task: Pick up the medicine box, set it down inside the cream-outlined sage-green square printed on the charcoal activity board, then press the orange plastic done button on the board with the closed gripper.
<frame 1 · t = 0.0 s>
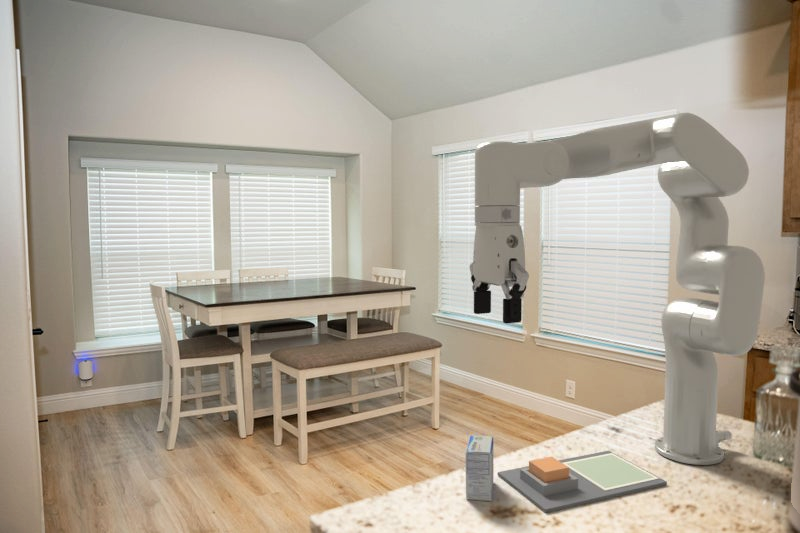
hand: (496, 317, 100), 31 cm above the kitchen counter, fingers open, 9 cm apart
medicine box: (479, 491, 104), on the kitchen counter
done button: (548, 470, 105), point 3 cm above the kitchen counter, slide at 0.0 cm
activity board: (580, 479, 108), on the kitchen counter
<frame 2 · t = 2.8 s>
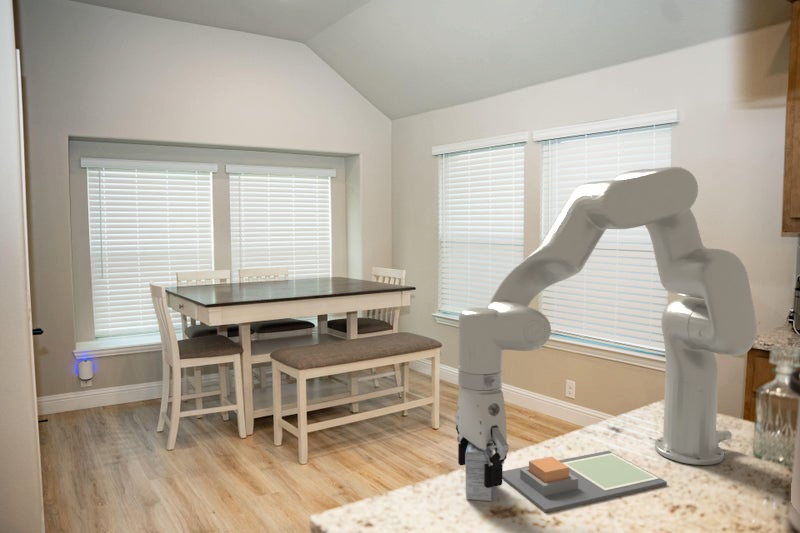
hand: (479, 474, 104), 3 cm above the kitchen counter, fingers closed on medicine box, 9 cm apart
medicine box: (479, 491, 104), on the kitchen counter, touching gripper
everything else where it was.
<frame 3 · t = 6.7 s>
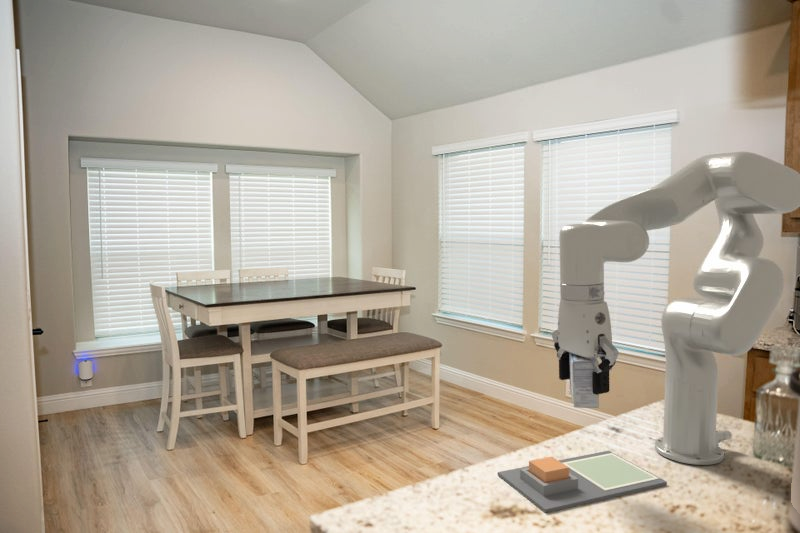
hand: (583, 385, 107), 17 cm above the kitchen counter, fingers closed on medicine box, 9 cm apart
medicine box: (583, 402, 108), point 14 cm above the kitchen counter, touching gripper
everything else where it was.
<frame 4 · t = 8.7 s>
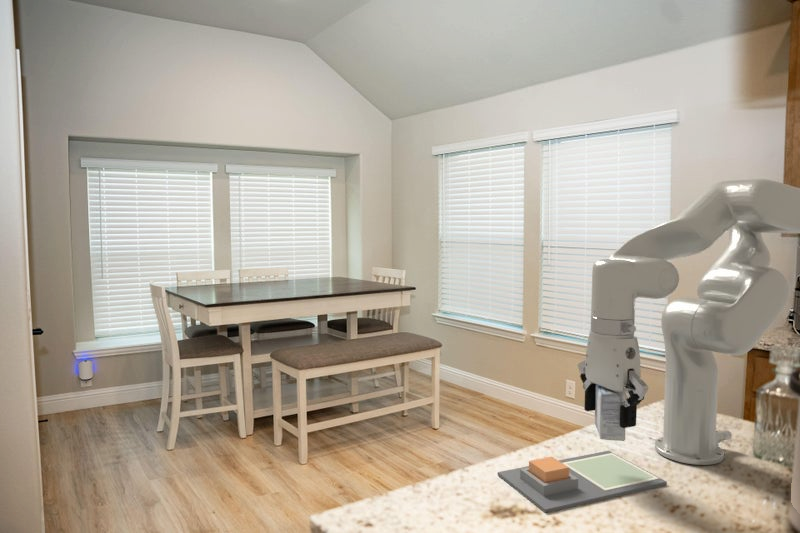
hand: (609, 417, 109), 11 cm above the kitchen counter, fingers closed on medicine box, 9 cm apart
medicine box: (609, 434, 109), point 8 cm above the kitchen counter, touching gripper
everything else where it was.
when the fingers open (4 cm above the kitchen counter, at t = 10.6 s): medicine box stays where it is, resting on activity board.
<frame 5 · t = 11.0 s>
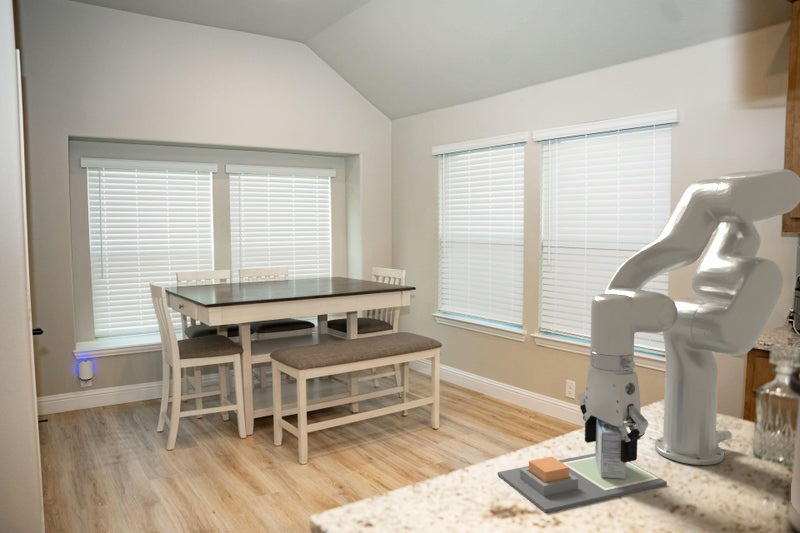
hand: (609, 450, 110), 4 cm above the kitchen counter, fingers open, 9 cm apart
medicine box: (609, 470, 110), point 1 cm above the kitchen counter, touching activity board, gripper
everything else where it was.
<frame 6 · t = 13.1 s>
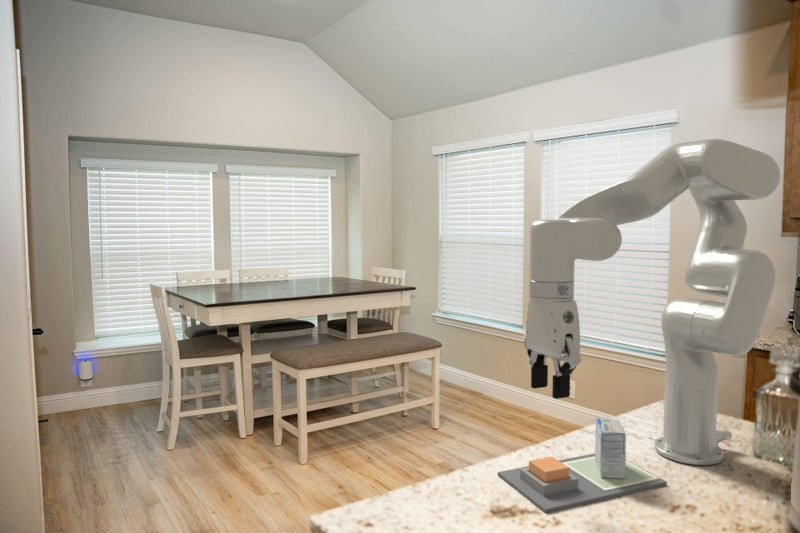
hand: (549, 391, 104), 18 cm above the kitchen counter, fingers open, 5 cm apart
medicine box: (609, 470, 110), resting on activity board
everything else where it was.
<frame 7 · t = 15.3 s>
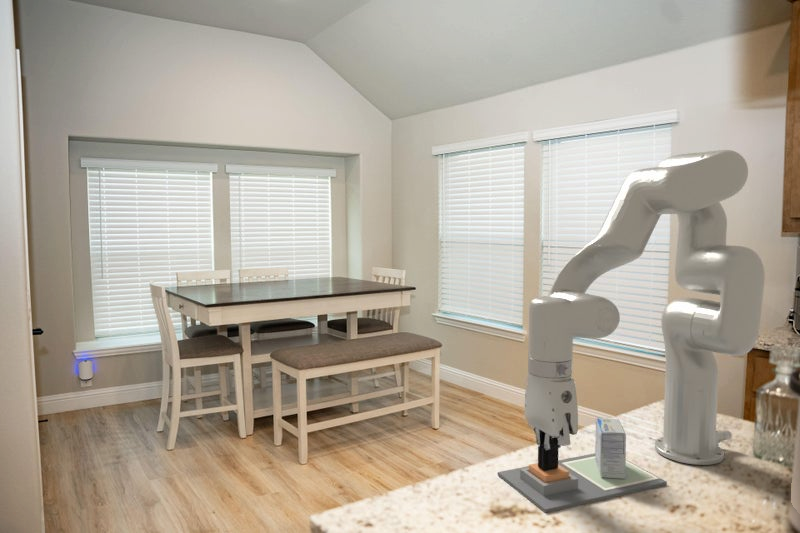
hand: (547, 467, 105), 4 cm above the kitchen counter, fingers closed
done button: (548, 474, 105), point 2 cm above the kitchen counter, slide at 0.7 cm
everything else where it was.
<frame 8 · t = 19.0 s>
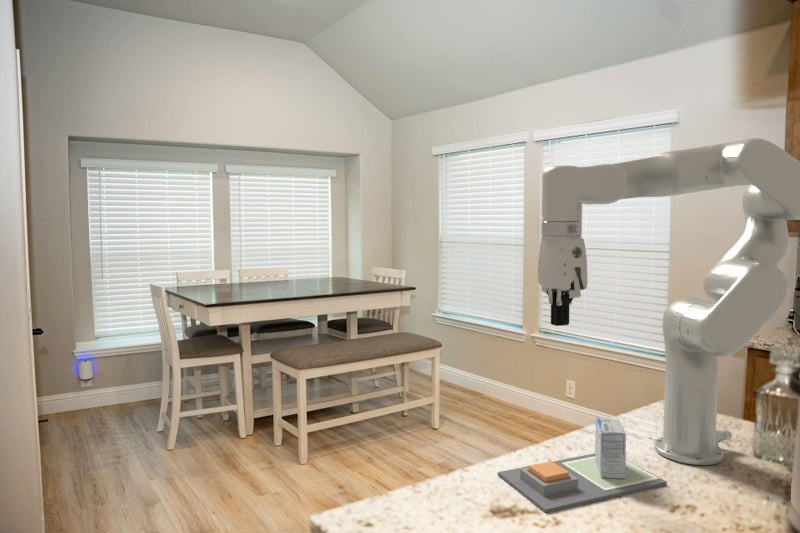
hand: (559, 324, 115), 27 cm above the kitchen counter, fingers closed
nothing on the kitchen counter moved.
at the end: medicine box 0.2 cm from the target spot on the activity board, point 0.5 cm above the activity board's base; medicine box tilted 0°; done button slide at 0.9 cm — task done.
